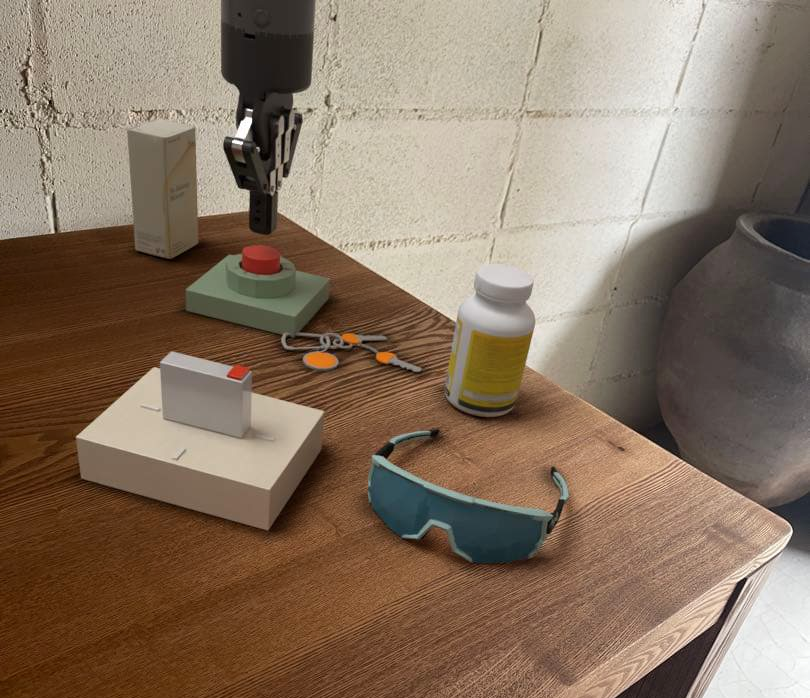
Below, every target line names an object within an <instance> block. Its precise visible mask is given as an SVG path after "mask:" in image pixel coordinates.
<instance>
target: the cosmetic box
mask: <svg viewBox="0 0 810 698" xmlns="http://www.w3.org/2000/svg"><path fill="white" fill-rule="evenodd" d="M126 132H127V133H126V135H127V144H128V145H127V149H128V162H129V163H128V164H129V176H130V177H129V178H130V191H131V192H130V193H131V207H132V220H133V235H134V249H135V251H137V252H141V253H144V254H147V255H151V256H155V257H159V258H162V259H167V260H171V259H174V258H175V257H177V256H179V255H182V253H184V252H186V251H188V250H189V249H192V248H194V247H195V246H196V245H198V244H199V213H198V212H199V211H198V210H199V209H198V207H199V206H198V177H197V176H198V172H197V171H198V170H197V143H196V142H197V139H196V138H197V137H196V135H197V134H196V126H194V125H190V124H186V123H182V122H177V121H173V120H168V119H164V118H156V119H153V120H151V121H147V122H144V123H141V124H138V125H134V126H133V127H130V128H127V129H126Z"/></svg>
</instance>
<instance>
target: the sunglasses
mask: <svg viewBox="0 0 810 698" xmlns="http://www.w3.org/2000/svg"><path fill="white" fill-rule="evenodd" d="M440 432H441V430H440V429H439V428H435V429H430V430H417V431H413V432H407V433H403V434H399V435H397V436H394V437H391V438H390V440H389V441H388V442H387V443H386V444H384V445H383V446H382V447H381V448H380V449H378V451H376V452H375V454H371V462H370V466H369V470H368V476H367V482H368V483H367V484H368V488H367V498H368V504H370V506H371V507H372V510H373V511H374V512H375V513H376V514H377V516H378V517H379V518H380V519H381V520H382V522H383V523H384V524H385V525H386V526H387V527H388V528H389V530H392V532H393V533H395V534H397V535H398V536H399V537H400V538H401V539H407V540H408V539H409V540H418V541H419V540H423V539H424V538H425V537H426V536H427V535H428V534H429V533H430V531H431V530H432V529H433V528H437V529H440V530H442V531H443V532H445V534H446V537H447V539H448V542H449V545H450V548H451V551H452V552H453V553H454V554H457V555H458V556H460V557H461V558H463V559H464V560H466V561H468V563H471V564H472V563H474V564H478V563H479V564H507V563H511V562H516V561H520V560H524V559H528V560H529V559H531V558H532V557H533V556H534V555H535V554H536V553H537V552H538V551H539V550H541V548H542V545H543V543H544V542H545V541H547V540H548V536H549V535H551V533H552V532H553V530H554V529H555V527H556V525H557V523H558V522H559V520H560V518H561V514H562V513H563V509H564V506H565V505H566V503H567V501H568V499H569V497H570V496H569V490H568V484H567V483H566V481H565V480H564V478H563V476H562V475H561V474H560V473H559V472H558V471H557V467H556V466H551V467H550V473H549V474H550V476H551V478H552V480H553V481H554V482H555V484H556V485H557V487H558V488H559V491H560V494H561V496H560V497H559V498H558V501H557V504H556V507H555V509H554V510H553V512H547V511H545V510H542V509H540V508H532V507H524V506H516V505H510V504H505V503H499V502H494V501H490V500H487V499H481V498H478V497H474V496H471V495H467V494H463V493H460V492H457V491H454V490H451V489H448V488H445V487H442V486H439V485H436V483H432V482H430V481H427V480H424V479H422V478H420V477H418V476H416V475H414V474H413V473H410V472H409V471H406V470H405V469H402V468H401V467H399V466H397V465H395V464H394V463H392V462H391V461H389V460H387V459H388V458H389V457H390V455H391V454H393V452H394V450H395V449H396V448H397V447H398V446H401V445H403V444H406V443H410V442H413V441H420V440H425V439H432V438H437V437H438V435H439V433H440Z"/></svg>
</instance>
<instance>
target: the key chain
mask: <svg viewBox="0 0 810 698" xmlns="http://www.w3.org/2000/svg"><path fill="white" fill-rule="evenodd" d="M289 335H291V334H289V333H284V334H283V335H281V338H280V342H281V345H282V347H283V348H284V349H285V350H287V351H295V350H316V351H310V352H308V353H306V354H304V356H303V357H302V363H303V365H305V366H306V367H307V368H309V369H310V370H315V371H320V372H321V371H322V372H323V371H324V372H327V371H332V370H334V369H336V368H337V367H338V366H339V365H340V364H339V358H338V357H336V355H334V354H332V353H330V352H326V351H328V350H338V349H343V350H350V349H352V348H353V346H354V347H360V348H364V349H368V351H372V352H373V353H375V359H376V361H378V362H379V363H381V364H383V365H392V366H399V367H400V368H401V369H406V370H407V371H408V370H410V371H412V372H414V373H420V372H422V370H423V369H422V367H420V366H417V365H414V364H412V363H409V362H406V361H403V360H401V359H399V358H398V355H396V354H395V353H392V352H388V351H378V350H377V349H376V348H374V347H372V346H370V345H368V344H364V343H363V342H375V341H376V342H377V341H378V342H379V341H381V342H383V341H387V340H388V338H387V337H386V336H385V335H382V334H378V335H375V334H374V335H371V334H367V335H363V334H359V335H358V334H355V333H352V332H351V333H350V332H348V333H347V332H346V333H343V334H342V335H340V334H338V333H336V332H326V333H324V334H323V333H322V334H321V333H310V332H309V333H308V332H299V333H298V332H296V333H295V337H308V338H318V339H319V343H320V344H321V345H319V346H302V347H299V346H298V347H294V346H290V345H288V344H287V343H286V339H287V337H289ZM330 337H333V338H336V339H334V340H333V341H332V344H333V345H331V339H330ZM324 340H325V342H326V343H325V342H324ZM344 344H347V345H344Z"/></svg>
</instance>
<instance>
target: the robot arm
mask: <svg viewBox="0 0 810 698" xmlns="http://www.w3.org/2000/svg"><path fill="white" fill-rule="evenodd" d="M316 4H317V0H220V73H221V76H222V78H223V79H224V80H225V81H226V82H227V83H228V84H230V85H233V86H234V87H235V88H236V89H237V90H238V93H239V94H238V99H237V106H236V111H235V127H236V133H235V136H234V137H232V136H228V135H226V136H225V137H224V138H223V142H222V148H223V152H224V154H225V157H226V160H227V163H228V164H229V168H230V171H231V173H232V176H233V177H234V181H235V184H236V186H237V188H238V189H240V190H246V191H248V192H249V195H248V196H249V202H248V203H249V204H248V207H249V209H248V228H249V230H250V231H251V232H252V233H255V234H260V235H264V236H270V235H271V234H272V233H273V232H275V231H276V230H277V228H278V207H279V206H278V205H279V191H281V189H282V187H283V178H284V179H288V177H289V175H290V172H291V167H292V164H293V160H294V156H295V152H296V148H297V144H298V141H299V138H300V135H301V134H300V133H301V129H302V126H303V122H304V119H303V118H304V117H303V114H302V113H299V112H295V110H294V109H293V107H294V94H300V93H303V92H305V91H307V90H309V88H310V87H311V85H312V79H313V77H312V75H313V60H314V59H313V57H314V39H315V24H316V23H315V20H316Z"/></svg>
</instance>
